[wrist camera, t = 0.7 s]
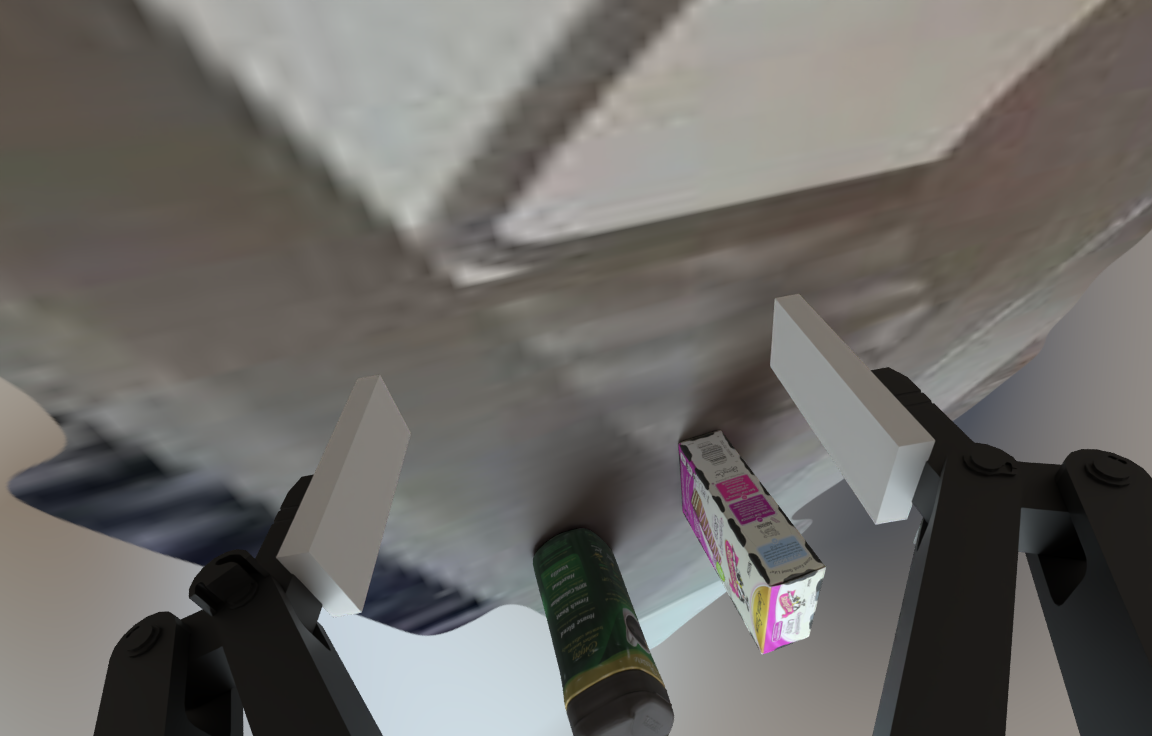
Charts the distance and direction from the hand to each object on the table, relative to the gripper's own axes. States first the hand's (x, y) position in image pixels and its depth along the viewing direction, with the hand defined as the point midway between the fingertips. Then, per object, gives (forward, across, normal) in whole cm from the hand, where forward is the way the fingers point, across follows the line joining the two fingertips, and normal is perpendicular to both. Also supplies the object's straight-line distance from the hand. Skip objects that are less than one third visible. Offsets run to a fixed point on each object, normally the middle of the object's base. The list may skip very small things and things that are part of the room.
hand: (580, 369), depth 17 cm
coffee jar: (+19, -6, -38) cm, 43 cm away
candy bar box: (+22, +9, -33) cm, 40 cm away
